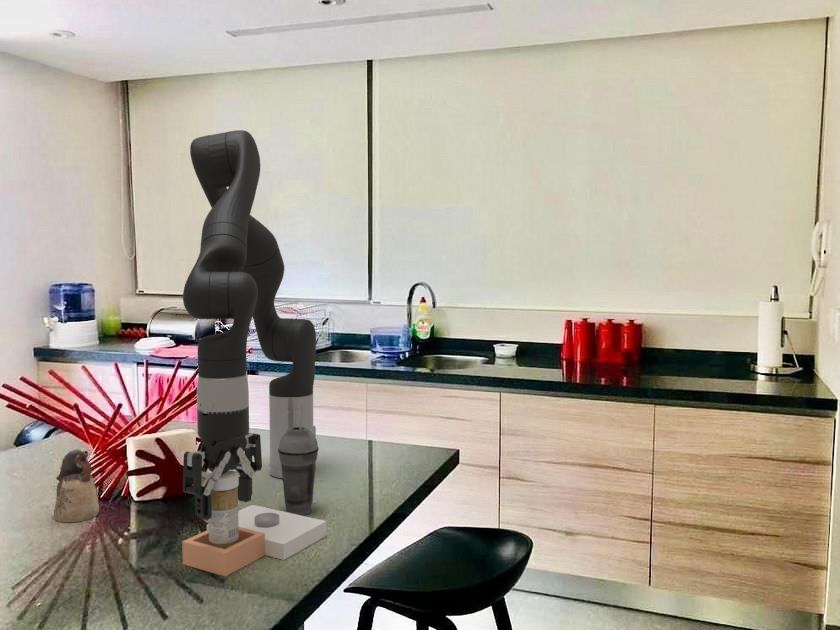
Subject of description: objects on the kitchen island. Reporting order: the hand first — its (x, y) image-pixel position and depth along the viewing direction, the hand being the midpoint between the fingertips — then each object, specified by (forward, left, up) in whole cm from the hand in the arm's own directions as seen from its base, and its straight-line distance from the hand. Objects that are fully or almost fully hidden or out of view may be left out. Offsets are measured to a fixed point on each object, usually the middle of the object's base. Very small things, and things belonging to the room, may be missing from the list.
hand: (225, 509), depth 108 cm
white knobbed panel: (-5, 0, -8) cm, 9 cm away
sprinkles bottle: (0, 0, -8) cm, 8 cm away
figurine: (-1, -36, -8) cm, 37 cm away
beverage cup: (-22, -3, -8) cm, 23 cm away
